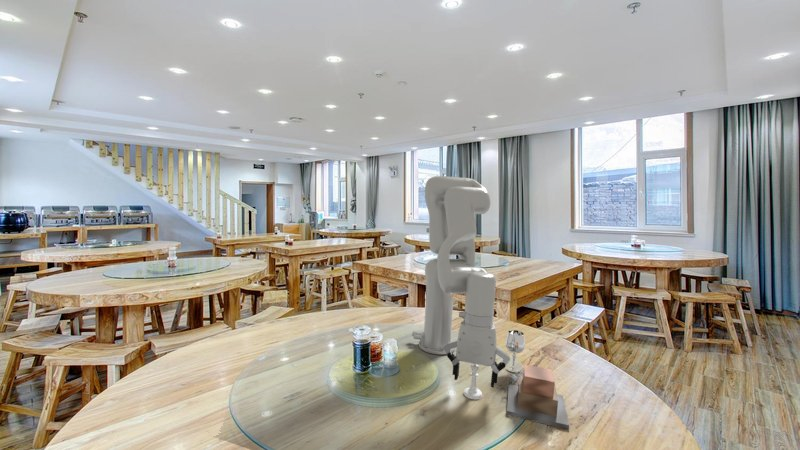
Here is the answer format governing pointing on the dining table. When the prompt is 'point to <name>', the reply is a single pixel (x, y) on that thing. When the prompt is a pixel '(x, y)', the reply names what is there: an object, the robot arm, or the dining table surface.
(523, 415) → the stepped pedestal
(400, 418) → the dining table surface
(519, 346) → the wineglass
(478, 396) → the chess piece
